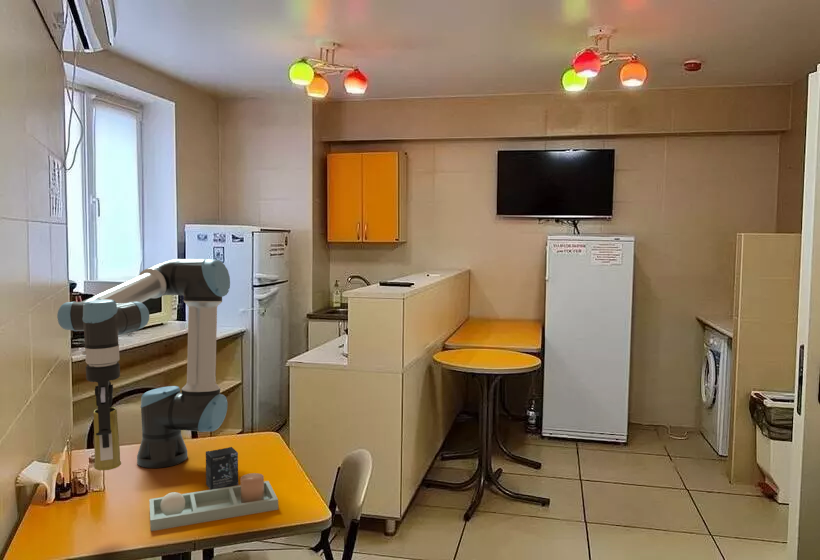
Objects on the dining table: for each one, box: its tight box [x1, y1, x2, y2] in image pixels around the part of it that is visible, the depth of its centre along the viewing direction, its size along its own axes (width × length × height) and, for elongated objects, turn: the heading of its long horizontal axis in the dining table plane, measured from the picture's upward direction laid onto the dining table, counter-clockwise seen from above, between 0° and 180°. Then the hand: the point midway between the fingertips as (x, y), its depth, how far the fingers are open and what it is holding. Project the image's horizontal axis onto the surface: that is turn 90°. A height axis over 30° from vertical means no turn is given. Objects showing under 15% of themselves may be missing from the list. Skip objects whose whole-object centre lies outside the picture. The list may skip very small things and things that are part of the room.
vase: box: [92, 406, 122, 472], centre depth 159 cm, size 6×6×14 cm
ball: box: [160, 491, 185, 516], centre depth 164 cm, size 6×6×6 cm
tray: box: [149, 480, 279, 532], centre depth 169 cm, size 13×31×4 cm, turn 113°
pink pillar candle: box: [240, 472, 265, 503], centre depth 172 cm, size 6×6×7 cm
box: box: [205, 446, 239, 490], centre depth 185 cm, size 8×6×11 cm
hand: (107, 454), depth 160 cm, fingers closed on vase, 6 cm apart
